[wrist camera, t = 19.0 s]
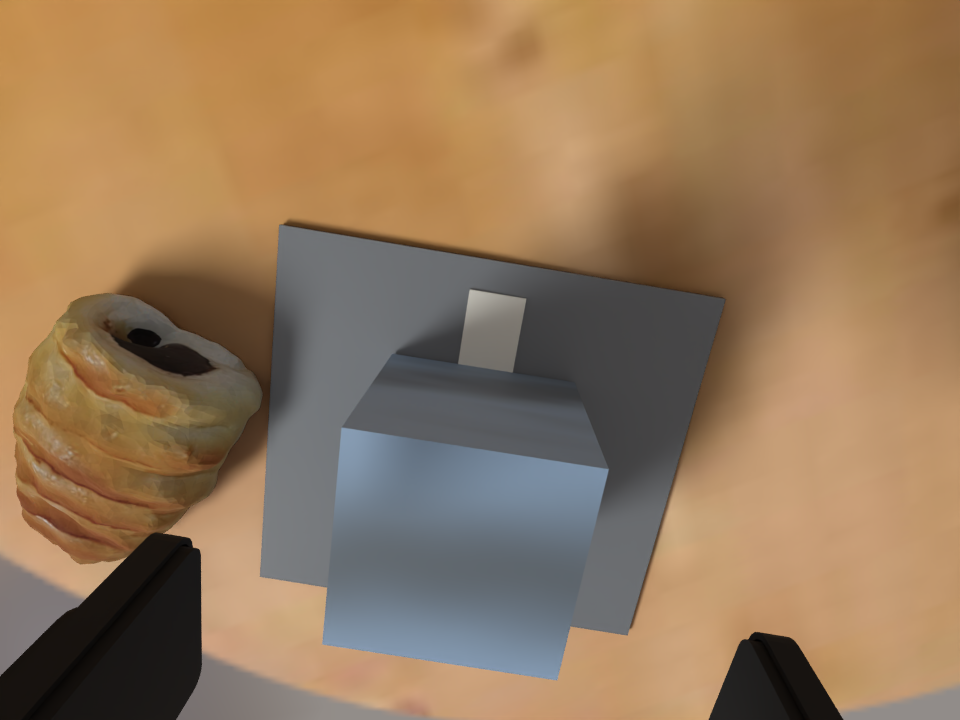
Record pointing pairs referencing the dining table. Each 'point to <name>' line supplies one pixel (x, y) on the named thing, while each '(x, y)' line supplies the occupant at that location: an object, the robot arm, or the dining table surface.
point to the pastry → (123, 425)
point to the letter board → (486, 344)
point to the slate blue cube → (463, 517)
